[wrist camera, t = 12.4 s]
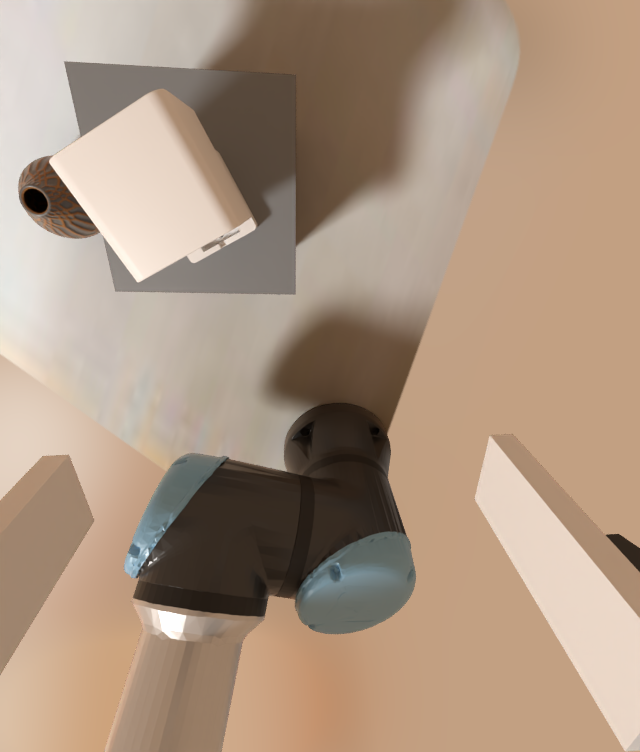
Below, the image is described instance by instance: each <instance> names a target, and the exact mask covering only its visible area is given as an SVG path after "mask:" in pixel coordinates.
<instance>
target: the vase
mask: <svg viewBox="0 0 640 752" xmlns="http://www.w3.org/2000/svg"><path fill="white" fill-rule="evenodd" d="M51 157H52V156H46V157H42V158H39V159H37V160H35V161H33V162H31V163H30V164H29V165H28V166H27V167H26V168H25V169H24V170H23V172H22V174H21V176H20V179H19V184H18V191H19V199H20V202H21V204H22V206H23V207H24V209H25V210H26V212H27V213H28V215H29V216H30V217H31V218H32V219H33V220H34V221H35V222H36V223H37V224H38V225H40V226H41V227H42V228H44V229H46V230H47V231H49V232H51V233H54V234H56V235H59V236H62V237H67V238H76V239H79V238H87V237H91V236H94V235H96V234H98V233H100V231H99V230H98V228H97V227H96V226H95V224H94V223H93V222H92V220H91V219H90V217H89V216H88V215H87V213H86V212H85V211H84V209H83V208H82V207H81V205H80V204H79V203H78V201H77V200H76V198H75V197H74V196H73V194H72V193H71V192H70V190H69V189H68V188H67V186H66V185H65V184H64V182H63V181H62V179H61V178H60V177H59V175H58V174H57V173H56V171H55V170H54V169H53V167H52V166H51V165H50V163H49V160H50V158H51Z"/></svg>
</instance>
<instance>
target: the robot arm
mask: <svg viewBox="0 0 640 752" xmlns="http://www.w3.org/2000/svg"><path fill="white" fill-rule="evenodd" d="M390 455H391V450H390V442H389V439H388V436H387V433H386V431H385V428H384V426H383V424H382V423H381V422H380V420H379V419H378V418H377V417H376V416H375V415H373V414H372V413H371V412H369V411H368V410H366V409H364V408H361V407H359V406H355V405H351V404H341V403H338V404H328V405H323V406H320V407H317V408H314V409H312V410H310V411H308V412H307V413H305V414H304V415H302V416H301V417H300V418H298V419H297V420H296V421H295V423H294V424H293V425H292V426H291V428H290V429H289V431H288V433H287V436H286V439H285V445H284V461H285V466H286V469H287V472H285V471H281V470H276V469H272V468H267V467H262V466H258V465H253V464H249V463H244V462H240V461H235V460H231V459H229V457H227V456H223V457H215V456H209V455H203V454H197V453H190V454H186V455H184V456H182V457H180V458H179V459H177V460H176V461H175V462H174V463H173V464H172V465H171V467H170V468H169V469H168V471H167V472H166V474H165V475H164V477H163V478H162V480H161V482H160V483H159V485H158V487H157V489H156V490H155V492H154V494H153V496H152V498H151V500H150V502H149V504H148V506H147V508H146V510H145V512H144V514H143V516H142V518H141V520H140V523H139V525H138V527H137V530H136V532H135V534H134V537H133V542H132V544H131V546H130V549H129V551H128V554H127V556H126V559H125V564H124V570H125V572H126V573H127V574H129V575H130V576H131V578H138V576H139V581H138V584H137V587H136V590H135V593H134V596H133V599H132V603H133V606H134V608H135V610H136V612H137V613H138V616H139V617H140V620H141V622H142V631H141V634H140V638H139V641H138V644H137V647H136V650H135V654H134V657H133V660H132V663H131V666H130V670H129V673H128V676H127V679H126V683H125V686H124V689H123V692H122V695H121V699H120V702H119V705H118V709H117V711H116V715H115V718H114V721H113V724H112V728H111V731H110V734H109V737H108V740H107V744H106V747H105V750H104V752H221V751H222V746H223V741H224V736H225V731H226V725H227V720H228V715H229V709H230V705H231V699H232V695H233V689H234V684H235V679H236V674H237V669H238V663H239V658H240V653H241V647H242V643H243V640H244V639H245V637H246V636H247V634H248V633H250V632H251V631H252V630H253V629H254V628H255V627H256V626H258V625H259V624H260V623H261V622H262V621H263V620H264V618H265V612H266V607H267V601H268V597H269V596H277V597H284V598H290V599H295V608H296V611H297V613H298V616H299V618H300V620H301V621H302V623H303V624H305V625H308V626H309V628H310V629H312V630H314V631H317V632H320V633H325V634H345V633H353V632H356V631H361V630H364V629H367V628H370V627H373V626H374V625H377V624H378V623H381V622H383V621H385V620H386V619H388V618H390V617H391V616H392V615H394V614H395V613H396V612H398V611H399V610H400V609H401V608H402V607H403V606H404V604H406V602H407V601H408V599H409V598H410V596H411V594H412V592H413V590H414V586H415V581H416V573H415V567H414V563H413V559H412V554H411V544H410V541H409V539H408V537H407V536H406V533H405V529H404V526H403V523H402V520H401V517H400V515H399V512H398V508H397V505H396V502H395V500H394V496H393V493H392V490H391V487H390V484H389V481H388V470H389V463H390ZM475 501H476V502H477V504H478V506H479V507H480V509H481V511H482V512H483V514H484V515H485V517H486V519H487V521H488V522H489V524H490V525H491V527H492V529H493V531H494V532H495V534H496V536H497V537H498V539H499V541H500V542H501V544H502V546H503V547H504V549H505V551H506V552H507V554H508V556H509V557H510V559H511V561H512V563H513V564H514V566H515V568H516V569H517V571H518V573H519V574H520V576H521V578H522V579H523V581H524V583H525V584H526V586H527V588H528V589H529V591H530V593H531V594H532V596H533V598H534V599H535V601H536V603H537V604H538V606H539V608H540V609H541V611H542V613H543V614H544V616H545V618H546V619H547V621H548V623H549V625H550V626H551V628H552V630H553V631H554V633H555V635H556V636H557V638H558V639H559V641H560V643H561V645H562V646H563V648H564V650H565V651H566V653H567V655H568V656H569V658H570V660H571V661H572V663H573V664H574V666H575V668H576V670H577V671H578V673H579V675H580V676H581V678H582V680H583V681H584V683H585V685H586V686H587V688H588V690H589V691H590V693H591V695H592V696H593V698H594V700H595V702H596V703H597V705H598V707H599V708H600V710H601V712H602V713H603V715H604V717H605V718H606V720H607V722H608V723H609V725H610V727H611V728H612V730H613V732H614V733H615V735H616V737H617V738H618V740H619V742H620V743H621V745H622V747H623V748H624V750H625V751H635V750H640V548H639V547H637V546H636V545H634V544H633V543H631V542H630V541H628V540H627V539H625V538H624V537H622V536H621V535H619V534H610V535H605V534H604V533H603V532H602V531H601V530H600V529H599V528H598V526H597V525H596V524H595V523H594V522H593V521H592V520H591V519H590V518H589V517H588V515H587V514H586V513H585V512H584V511H583V510H582V509H581V508H580V507H579V506H578V505H577V504H576V502H575V501H573V499H572V498H571V497H570V496H569V495H568V494H567V493H566V492H565V490H564V489H563V488H562V487H561V486H560V485H559V484H558V483H557V482H556V481H555V480H554V479H553V477H552V476H551V475H550V474H549V473H548V472H547V471H546V470H545V469H544V468H543V466H542V465H540V463H539V462H538V461H537V460H536V459H535V458H534V457H533V456H532V455H531V453H530V452H529V451H528V450H527V449H526V448H525V447H524V446H523V445H522V444H521V443H520V441H518V439H517V438H516V437H515V436H514V435H513V434H504V435H490V436H489V441H488V445H487V449H486V454H485V458H484V462H483V466H482V471H481V475H480V479H479V483H478V487H477V491H476V496H475ZM93 522H94V518H93V516H92V513H91V511H90V508H89V505H88V503H87V500H86V498H85V495H84V492H83V490H82V487H81V485H80V482H79V480H78V477H77V474H76V472H75V469H74V466H73V464H72V461H71V459H70V456H69V455H56V456H42V458H41V459H40V460H39V461H38V462H37V463H36V464H35V465H34V466H33V467H32V468H31V469H30V470H29V471H28V472H27V473H26V474H25V475H24V476H23V477H22V478H21V479H20V480H19V481H18V483H17V484H16V485H15V486H14V487H13V488H12V489H11V490H10V491H9V492H8V493H7V494H6V495H5V496H4V497H3V498H2V499H1V500H0V674H1V673H2V671H3V670H4V668H5V666H6V665H7V663H8V661H9V660H10V658H11V657H12V655H13V653H14V652H15V650H16V648H17V647H18V645H19V643H20V642H21V640H22V639H23V637H24V635H25V634H26V632H27V630H28V629H29V627H30V625H31V624H32V622H33V620H34V619H35V617H36V615H37V614H38V612H39V611H40V609H41V607H42V606H43V604H44V602H45V601H46V599H47V598H48V596H49V594H50V593H51V591H52V589H53V588H54V586H55V584H56V583H57V581H58V580H59V578H60V576H61V575H62V573H63V571H64V569H65V568H66V566H67V564H68V563H69V561H70V560H71V558H72V556H73V555H74V553H75V552H76V550H77V548H78V547H79V545H80V543H81V542H82V540H83V538H84V537H85V535H86V534H87V532H88V530H89V529H90V527H91V525H92V524H93Z"/></svg>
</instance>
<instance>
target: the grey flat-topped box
mask: <svg viewBox="0 0 640 752" xmlns="http://www.w3.org/2000/svg"><path fill="white" fill-rule="evenodd" d="M64 63H65V67H66V72H67V76H68V81H69V85H70V90H71V94H72V99H73V103H74V108H75V112H76V117H77V121H78V126H79V130H80V135H81V137H82V136H84V135H85V134H87V133H88V132H90V131H91V130H93V129H94V128H96V127H97V126H99V125H100V124H102V123H103V122H105V121H106V120H108V119H109V118H111V117H112V116H114V115H115V114H117V113H118V112H120V111H122V110H123V109H125V108H126V107H128V106H129V105H131V104H132V103H134V102H135V101H137V100H138V99H140V98H141V97H143V96H144V95H146V94H148V93H149V92H152V91H154V90H158V89H165V90H167V91H168V92H170V93H171V94H172V95H174V96H175V97H177V98H178V99H179V100H181V101H182V102H183V103H185V104H186V105H187V106H189V107H190V108H191V109H193V110H194V112H195V114H196V115H197V117H198V119H199V121H200V123H201V125H202V127H203V128H204V130H205V132H206V134H207V136H208V138H209V140H210V141H211V143H212V145H213V147H214V149H215V150H216V151H218V152H219V153H220V155H221V157H222V159H223V161H224V163H225V164H226V166H227V168H228V170H229V172H230V174H231V176H232V177H233V179H234V181H235V183H236V185H237V187H238V189H239V190H240V192H241V194H242V196H243V198H244V200H245V202H246V203H247V205H248V207H249V209H250V211H251V213H252V215H253V217H254V218H255V220H256V222H257V228H256V229H255V230H254V231H252V232H250V233H248V234H247V235H245V236H243V237H241V238H239V239H238V240H236V241H234V242H232V243H230V244H229V245H226V246H225V247H223V248H221V249H220V250H218V251H216V252H214V253H212V254H211V255H209V256H207V257H205V258H203V259H202V260H200V261H198V262H196V263H192V262H191V261H190V260H189V258H188V257H187V256H185V257H184V258H182V259H180V260H178V261H176V262H175V263H173V264H171V265H169V266H167V267H166V268H164V269H162V270H160V271H159V272H157V273H155V274H153V275H151V276H150V277H148V278H146V279H144V280H143V281H141V282H139V283H138V282H137V281H136V280H135V278H134V277H133V276H132V274H131V273H130V272H129V270H128V269H127V268H126V266H125V265H124V264H123V262H122V261H121V259H120V258H119V257H118V255H117V254H116V253H115V251H114V250H113V249H112V247H111V246H110V245H109V243H108V242H107V241H106V239H105V238H104V236H103V238H104V242H105V247H106V251H107V256H108V260H109V265H110V269H111V274H112V278H113V283H114V287H115V291H122V292H180V293H238V294H295V292H296V75H292V74H274V73H257V72H239V71H222V70H204V69H187V68H169V67H152V66H134V65H117V64H99V63H82V62H64ZM221 237H223V236H221Z"/></svg>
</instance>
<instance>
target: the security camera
mask: <svg viewBox="0 0 640 752" xmlns="http://www.w3.org/2000/svg"><path fill="white" fill-rule="evenodd" d="M49 163H50V165H51V166H52V167H53V169H54V170H55V171H56V173H57V174H58V175H59V177H60V178H61V179H62V181H63V182H64V184H65V185H66V186H67V188H68V189H69V190H70V192H71V193H72V194H73V196H74V197H75V198H76V200H77V201H78V203H79V204H80V205H81V207H82V208H83V209H84V211H85V212H86V213H87V215H88V216H89V217H90V219H91V220H92V222H93V223H94V224H95V226H96V227H97V228H98V230H99V231H100V232H101V234H102V235H103V236H104V238H105V239H106V241H107V242H108V243H109V245H110V246H111V247H112V249H113V250H114V251H115V253H116V254H117V255H118V257H119V258H120V259H121V261H122V262H123V264H124V265H125V266H126V268H127V269H128V270H129V272H130V273H131V274H132V276H133V277H134V278H135V280H136V281H137V282H138V283H139V282H141V281H143V280H144V279H146V278H148V277H150V276H151V275H153V274H155V273H157V272H159V271H160V270H162V269H164V268H166V267H167V266H169V265H171V264H173V263H175V262H176V261H178V260H180V259H182V258H184V257H185V256H187V257H188V258H189V260H190V261H191V262H192V263H196V262H198V261H200V260H202V259H203V258H205V257H207V256H209V255H211V254H212V253H214V252H216V251H218V250H220V249H221V248H223V247H225V246H226V245H229V244H230V243H232V242H234V241H236V240H238V239H239V238H241V237H243V236H245V235H247V234H248V233H250V232H252V231H254V230H255V229H256V228H257V222H256V220H255V218H254V217H253V215H252V213H251V211H250V209H249V207H248V205H247V203H246V202H245V200H244V198H243V196H242V194H241V192H240V190H239V189H238V187H237V185H236V183H235V181H234V179H233V177H232V176H231V174H230V172H229V170H228V168H227V166H226V164H225V163H224V161H223V159H222V157H221V155H220V153H219V152H218V151H216V150H215V149H214V147H213V145H212V143H211V141H210V140H209V138H208V136H207V134H206V132H205V130H204V128H203V127H202V125H201V123H200V121H199V119H198V117H197V115H196V114H195V112H194V110H193V109H191V108H190V107H189V106H187V105H186V104H185V103H183V102H182V101H181V100H179V99H178V98H177V97H175V96H174V95H172V94H171V93H170V92H168V91H167V90H165V89H158V90H154V91H152V92H149V93H148V94H146V95H144V96H143V97H141V98H140V99H138V100H137V101H135V102H134V103H132V104H131V105H129V106H128V107H126V108H125V109H123V110H122V111H120V112H118V113H117V114H115V115H114V116H112V117H111V118H109V119H108V120H106V121H105V122H103V123H102V124H100V125H99V126H97V127H96V128H94V129H93V130H91V131H90V132H88V133H87V134H85V135H84V136H82V137H80V138H79V139H77V140H76V141H74V142H73V143H71V144H70V145H68V146H67V147H65V148H64V149H62V150H61V151H59V152H58V153H56V154H55V155H54V156H52V157H51V158H50V160H49ZM221 236H223V237H221Z"/></svg>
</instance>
